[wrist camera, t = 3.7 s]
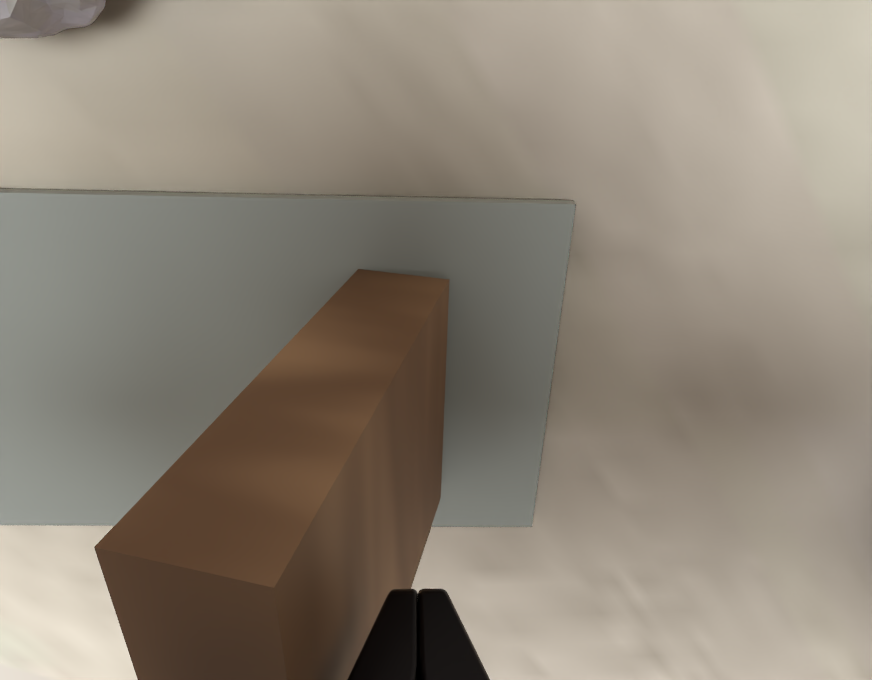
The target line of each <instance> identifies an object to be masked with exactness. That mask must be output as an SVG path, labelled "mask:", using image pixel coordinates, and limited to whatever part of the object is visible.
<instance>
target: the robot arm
mask: <svg viewBox="0 0 872 680" xmlns="http://www.w3.org/2000/svg"><path fill="white" fill-rule="evenodd" d="M347 680H490V679H489V677H488V675H487V673H486V671H485V669H484V667H483V664H482V662H481V660H480V658H479V656H478V654H477V652H476V650H475V648H474V646H473V644H472V642H471V640H470V638H469V636H468V634H467V632H466V630H465V628H464V626H463V624H462V622H461V620H460V618H459V615H458V613H457V611H456V609H455V607H454V605H453V603H452V601H451V599H450V597H449V595H448V593H447V592H446V591H445V590H443V589H422V590H420V591H419V593H418V594H417V591H416V590H414V589H393V590H391V591H390V592H389V593H388V595H387V597H386V599H385V601H384V603H383V605H382V608H381V610H380V612H379V614H378V616H377V618H376V620H375V622H374V624H373V627H372V629H371V631H370V633H369V635H368V637H367V639H366V641H365V643H364V646H363V648H362V650H361V652H360V654H359V656H358V658H357V660H356V662H355V664H354V667H353V669H352V671H351V673H350V675H349V677H348V679H347Z"/></svg>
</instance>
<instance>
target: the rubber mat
mask: <svg viewBox="0 0 872 680" xmlns="http://www.w3.org/2000/svg"><path fill="white" fill-rule="evenodd" d="M575 207H576V204H575V202H574V201H573V200H536V199H487V198H438V197H389V196H340V195H291V194H242V193H193V192H144V191H95V190H46V189H0V525H116V524H117V523H118V522H119V521H120V520H121V519H122V518H123V516H124V515H125V514H126V513H127V512H128V511H129V510H130V509H131V508H132V507H133V506H134V505H135V504H136V503H137V502H138V501H139V500H140V499H141V497H142V496H143V495H144V494H145V493H146V492H147V491H148V490H149V489H150V488H151V487H152V486H153V485H154V484H155V483H156V482H157V481H158V480H159V479H160V477H161V476H162V475H163V474H164V473H165V472H166V471H167V470H168V469H169V468H170V467H171V466H172V465H173V464H174V463H175V462H176V461H177V460H178V458H179V457H180V456H181V455H182V454H183V453H184V452H185V451H186V450H187V449H188V448H189V447H190V446H191V445H192V444H193V443H194V442H195V441H196V440H197V438H198V437H199V436H200V435H201V434H202V433H203V432H204V431H205V430H206V429H207V428H208V427H209V426H210V425H211V424H212V423H213V422H214V421H215V419H216V418H217V417H218V416H219V415H220V414H221V413H222V412H223V411H224V410H225V409H226V408H227V407H228V406H229V405H230V404H231V403H232V402H233V401H234V399H235V398H236V397H237V396H238V395H239V394H240V393H241V392H242V391H243V390H244V389H245V388H246V387H247V386H248V385H249V384H250V383H251V382H252V380H253V379H254V378H255V377H256V376H257V375H258V374H259V373H260V372H261V371H262V370H263V369H264V368H265V367H266V366H267V365H268V364H269V363H270V362H271V360H272V359H273V358H274V357H275V356H276V355H277V354H278V353H279V352H280V351H281V350H282V349H283V348H284V347H285V346H286V345H287V344H288V343H289V341H290V340H291V339H292V338H293V337H294V336H295V335H296V334H297V333H298V332H299V331H300V330H301V329H302V328H303V327H304V326H305V325H306V324H307V323H308V321H309V320H310V319H311V318H312V317H313V316H314V315H315V314H316V313H317V312H318V311H319V310H320V309H321V308H322V307H323V306H324V305H325V304H326V302H327V301H328V300H329V299H330V298H331V297H332V296H333V295H334V294H335V293H336V292H337V291H338V290H339V289H340V288H341V287H342V286H343V285H344V284H345V282H346V281H347V280H348V279H349V278H350V277H351V276H352V275H353V274H354V273H355V272H356V271H357V270H358V269H363V270H372V271H381V272H389V273H398V274H407V275H415V276H424V277H432V278H441V279H449V303H448V328H447V353H446V378H445V403H444V429H443V454H442V479H441V499H440V502H439V505H438V508H437V511H436V514H435V517H434V520H433V523H432V526H431V527H532V522H533V515H534V507H535V500H536V493H537V485H538V478H539V471H540V463H541V456H542V449H543V442H544V434H545V427H546V420H547V412H548V405H549V398H550V390H551V383H552V376H553V368H554V361H555V354H556V346H557V339H558V332H559V324H560V317H561V310H562V302H563V295H564V288H565V280H566V273H567V266H568V258H569V251H570V244H571V237H572V229H573V222H574V215H575Z"/></svg>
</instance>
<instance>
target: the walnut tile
mask: <svg viewBox="0 0 872 680" xmlns="http://www.w3.org/2000/svg"><path fill="white" fill-rule="evenodd" d="M448 303H449V279H441V278H432V277H424V276H415V275H407V274H398V273H389V272H381V271H372V270H363V269H358V270H357V271H356V272H355V273H354V274H353V275H352V276H351V277H350V278H349V279H348V280H347V281H346V282H345V284H344V285H343V286H342V287H341V288H340V289H339V290H338V291H337V292H336V293H335V294H334V295H333V296H332V297H331V298H330V299H329V300H328V301H327V302H326V304H325V305H324V306H323V307H322V308H321V309H320V310H319V311H318V312H317V313H316V314H315V315H314V316H313V317H312V318H311V319H310V320H309V321H308V323H307V324H306V325H305V326H304V327H303V328H302V329H301V330H300V331H299V332H298V333H297V334H296V335H295V336H294V337H293V338H292V339H291V340H290V341H289V343H288V344H287V345H286V346H285V347H284V348H283V349H282V350H281V351H280V352H279V353H278V354H277V355H276V356H275V357H274V358H273V359H272V360H271V362H270V363H269V364H268V365H267V366H266V367H265V368H264V369H263V370H262V371H261V372H260V373H259V374H258V375H257V376H256V377H255V378H254V379H253V380H252V382H251V383H250V384H249V385H248V386H247V387H246V388H245V389H244V390H243V391H242V392H241V393H240V394H239V395H238V396H237V397H236V398H235V399H234V401H233V402H232V403H231V404H230V405H229V406H228V407H227V408H226V409H225V410H224V411H223V412H222V413H221V414H220V415H219V416H218V417H217V418H216V419H215V421H214V422H213V423H212V424H211V425H210V426H209V427H208V428H207V429H206V430H205V431H204V432H203V433H202V434H201V435H200V436H199V437H198V438H197V440H196V441H195V442H194V443H193V444H192V445H191V446H190V447H189V448H188V449H187V450H186V451H185V452H184V453H183V454H182V455H181V456H180V457H179V458H178V460H177V461H176V462H175V463H174V464H173V465H172V466H171V467H170V468H169V469H168V470H167V471H166V472H165V473H164V474H163V475H162V476H161V477H160V479H159V480H158V481H157V482H156V483H155V484H154V485H153V486H152V487H151V488H150V489H149V490H148V491H147V492H146V493H145V494H144V495H143V496H142V497H141V499H140V500H139V501H138V502H137V503H136V504H135V505H134V506H133V507H132V508H131V509H130V510H129V511H128V512H127V513H126V514H125V515H124V516H123V518H122V519H121V520H120V521H119V522H118V523H117V524H116V525H115V526H114V527H113V528H112V529H111V530H110V531H109V532H108V533H107V534H106V535H105V536H104V538H103V539H102V540H101V541H100V542H99V543H98V544H97V545H96V546H95V547H94V548H95V551H96V554H97V557H98V560H99V563H100V566H101V569H102V572H103V575H104V578H105V581H106V584H107V587H108V590H109V593H110V596H111V599H112V602H113V605H114V608H115V611H116V614H117V617H118V621H119V624H120V627H121V630H122V633H123V636H124V639H125V642H126V645H127V648H128V651H129V654H130V657H131V660H132V663H133V666H134V669H135V672H136V675H137V678H138V680H347V679H348V677H349V675H350V673H351V671H352V669H353V667H354V664H355V662H356V660H357V658H358V656H359V654H360V652H361V650H362V648H363V646H364V643H365V641H366V639H367V637H368V635H369V633H370V631H371V629H372V627H373V624H374V622H375V620H376V618H377V616H378V614H379V612H380V610H381V608H382V605H383V603H384V601H385V599H386V597H387V595H388V593H389V592H390V591H391V590H393V589H411V586H412V583H413V580H414V577H415V574H416V571H417V568H418V565H419V562H420V559H421V556H422V553H423V550H424V547H425V544H426V541H427V538H428V535H429V532H430V529H431V526H432V523H433V520H434V517H435V514H436V511H437V508H438V505H439V502H440V499H441V479H442V454H443V429H444V403H445V378H446V353H447V328H448Z"/></svg>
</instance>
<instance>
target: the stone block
mask: <svg viewBox="0 0 872 680" xmlns="http://www.w3.org/2000/svg"><path fill="white" fill-rule="evenodd" d="M105 2H106V0H0V38H38V37H44V36H51V35H55V34H57V33H59V32H61V31H63V30H65V29H69V28H78V27H86V26H88V25H90V24H91V23H93V22H94V21H95V20H96V18H97V17H98V16H99V14H100V13H101V12H102V10H103V9H104V8H105Z"/></svg>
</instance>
